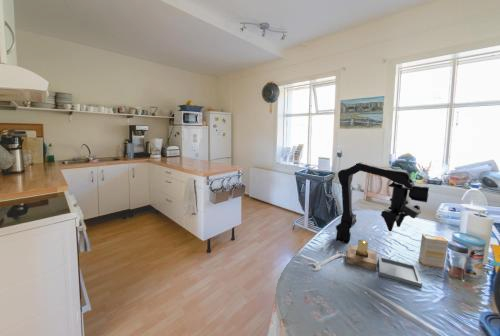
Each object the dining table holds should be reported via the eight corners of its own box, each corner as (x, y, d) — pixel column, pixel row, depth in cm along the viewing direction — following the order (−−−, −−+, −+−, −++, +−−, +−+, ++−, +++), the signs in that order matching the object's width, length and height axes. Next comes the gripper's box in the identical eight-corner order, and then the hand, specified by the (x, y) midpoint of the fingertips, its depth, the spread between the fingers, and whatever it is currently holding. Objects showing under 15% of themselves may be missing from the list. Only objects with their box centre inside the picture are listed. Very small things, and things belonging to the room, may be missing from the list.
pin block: (346, 262, 100) (346, 256, 100) (348, 250, 111) (349, 245, 110) (376, 270, 95) (377, 264, 94) (375, 257, 105) (376, 251, 105)
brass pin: (356, 260, 102) (358, 242, 100) (356, 256, 105) (358, 239, 104) (366, 263, 100) (368, 244, 99) (366, 259, 103) (368, 241, 102)
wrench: (305, 268, 97) (315, 274, 92) (305, 264, 96) (315, 271, 92) (339, 251, 110) (349, 256, 106) (339, 248, 110) (349, 253, 106)
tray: (379, 276, 91) (379, 272, 90) (378, 260, 103) (378, 256, 102) (421, 288, 84) (422, 283, 84) (415, 269, 96) (415, 265, 96)
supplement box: (439, 263, 102) (443, 236, 100) (444, 269, 97) (449, 241, 95) (417, 259, 104) (421, 233, 102) (421, 265, 100) (426, 237, 98)
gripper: (411, 205, 90) (405, 241, 93) (427, 199, 101) (421, 230, 104) (382, 198, 99) (378, 230, 102) (400, 193, 110) (395, 222, 113)
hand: (394, 228), depth 105 cm, fingers open, 9 cm apart
